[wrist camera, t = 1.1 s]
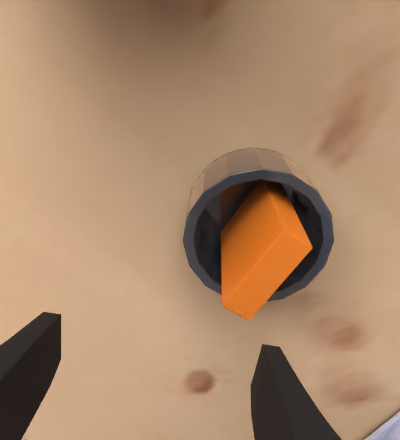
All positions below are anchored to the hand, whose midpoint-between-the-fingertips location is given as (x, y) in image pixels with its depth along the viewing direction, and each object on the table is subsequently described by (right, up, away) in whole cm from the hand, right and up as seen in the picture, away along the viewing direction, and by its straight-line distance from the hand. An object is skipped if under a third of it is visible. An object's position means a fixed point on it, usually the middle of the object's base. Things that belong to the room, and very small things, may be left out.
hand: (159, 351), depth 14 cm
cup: (+4, +5, +8) cm, 11 cm away
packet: (+4, +5, +8) cm, 11 cm away
